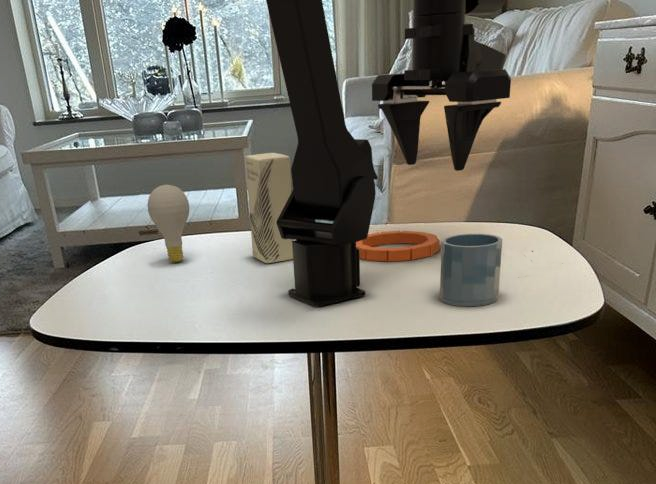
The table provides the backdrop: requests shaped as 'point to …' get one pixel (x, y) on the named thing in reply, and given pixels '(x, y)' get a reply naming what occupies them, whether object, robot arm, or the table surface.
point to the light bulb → (169, 217)
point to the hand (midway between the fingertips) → (434, 167)
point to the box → (268, 204)
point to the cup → (470, 269)
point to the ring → (424, 247)
